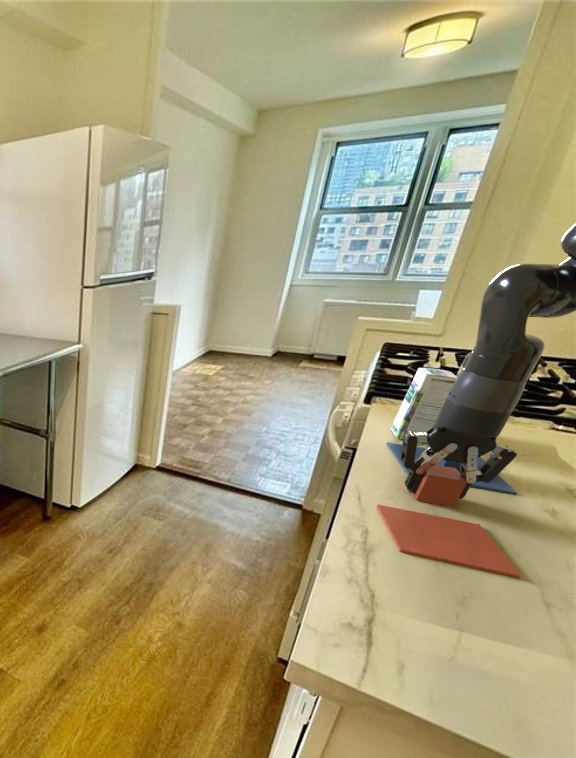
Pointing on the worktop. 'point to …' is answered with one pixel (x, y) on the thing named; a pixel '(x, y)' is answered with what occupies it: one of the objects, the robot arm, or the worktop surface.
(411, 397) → the syrup box
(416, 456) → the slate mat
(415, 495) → the terracotta block
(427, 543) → the terracotta mat
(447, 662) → the worktop surface
